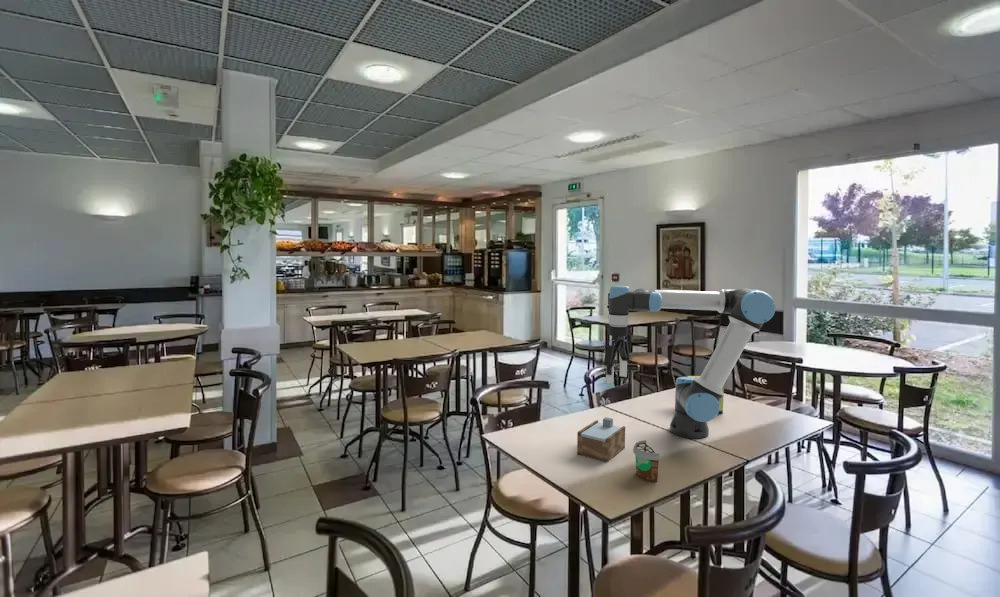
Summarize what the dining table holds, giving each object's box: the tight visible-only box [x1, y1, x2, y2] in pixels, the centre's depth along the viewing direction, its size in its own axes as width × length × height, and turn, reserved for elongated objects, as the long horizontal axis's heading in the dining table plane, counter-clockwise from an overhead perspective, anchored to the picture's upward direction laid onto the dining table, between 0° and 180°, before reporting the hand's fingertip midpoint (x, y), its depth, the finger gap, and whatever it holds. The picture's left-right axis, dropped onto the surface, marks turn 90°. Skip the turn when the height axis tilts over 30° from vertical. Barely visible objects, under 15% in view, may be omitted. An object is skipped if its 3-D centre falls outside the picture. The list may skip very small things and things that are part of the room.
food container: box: [632, 439, 661, 483], centre depth 164 cm, size 12×6×10 cm, turn 5°
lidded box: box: [576, 419, 626, 463], centre depth 184 cm, size 16×12×8 cm
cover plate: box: [581, 416, 622, 442], centre depth 184 cm, size 15×10×4 cm, turn 144°
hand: (616, 379), depth 193 cm, fingers open, 12 cm apart
